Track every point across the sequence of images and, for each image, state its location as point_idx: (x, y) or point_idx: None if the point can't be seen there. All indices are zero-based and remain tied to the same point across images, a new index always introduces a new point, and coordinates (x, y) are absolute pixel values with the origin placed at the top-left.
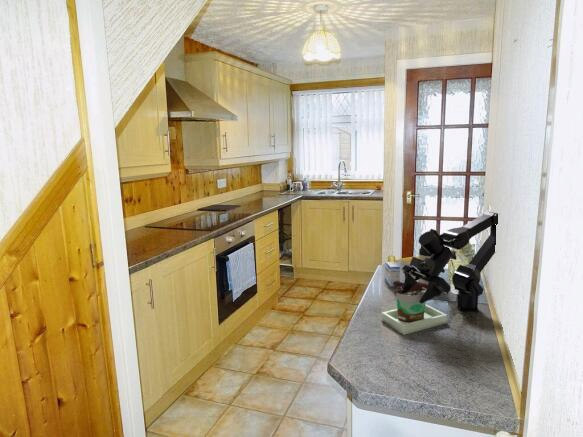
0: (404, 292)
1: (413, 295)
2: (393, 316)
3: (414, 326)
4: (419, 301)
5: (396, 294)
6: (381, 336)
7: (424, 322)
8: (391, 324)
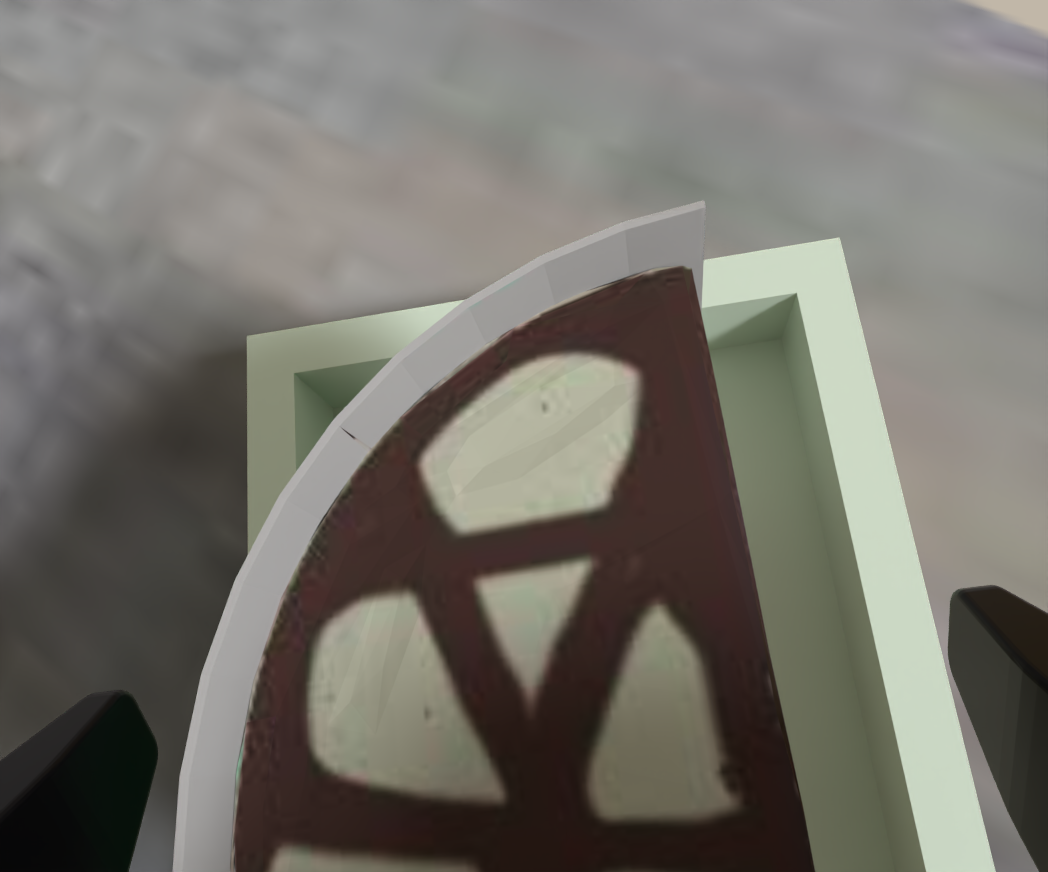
0: (979, 696)
1: (452, 728)
2: (815, 482)
3: None
4: (113, 691)
5: (686, 230)
6: (387, 128)
7: None
8: None
